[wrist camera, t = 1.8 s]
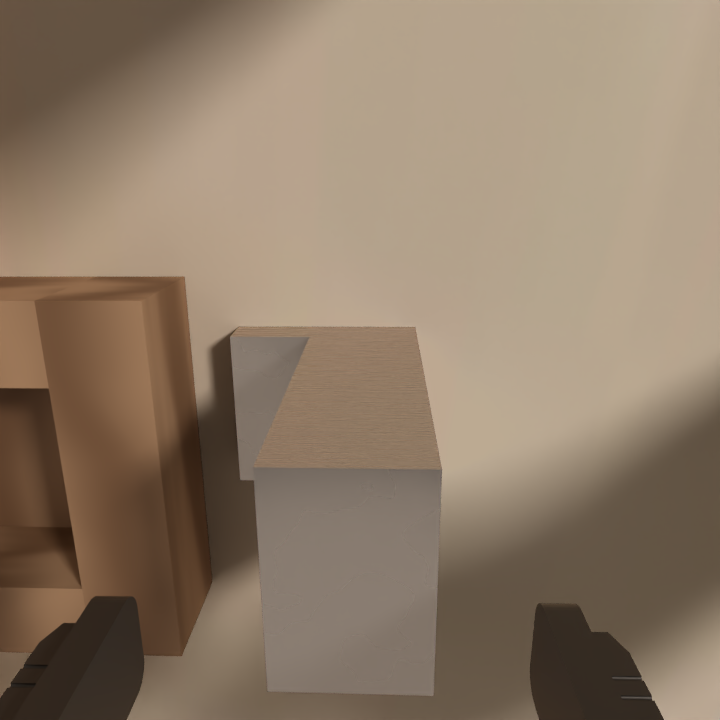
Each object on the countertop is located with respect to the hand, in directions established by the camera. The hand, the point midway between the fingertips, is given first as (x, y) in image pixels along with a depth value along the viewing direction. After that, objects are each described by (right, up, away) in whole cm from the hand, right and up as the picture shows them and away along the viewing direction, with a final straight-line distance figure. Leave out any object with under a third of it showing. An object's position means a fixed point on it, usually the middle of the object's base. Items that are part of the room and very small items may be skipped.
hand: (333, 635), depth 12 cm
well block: (-14, +2, +14) cm, 20 cm away
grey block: (-1, +4, +13) cm, 14 cm away
